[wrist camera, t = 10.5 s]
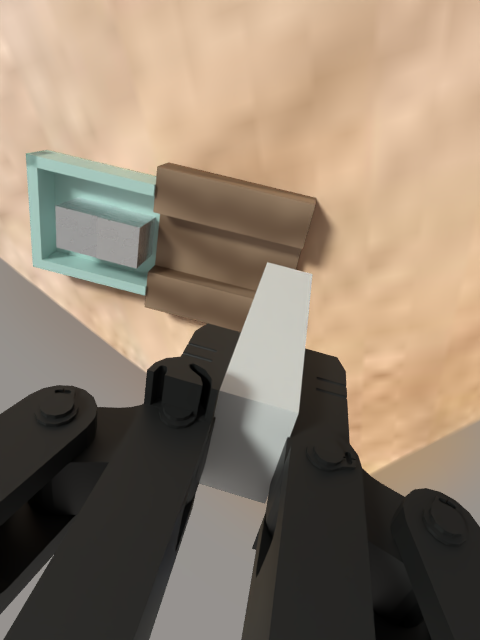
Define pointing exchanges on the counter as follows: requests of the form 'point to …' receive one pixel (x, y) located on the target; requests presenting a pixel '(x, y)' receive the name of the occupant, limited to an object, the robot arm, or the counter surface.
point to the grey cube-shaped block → (79, 225)
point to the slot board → (220, 242)
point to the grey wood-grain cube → (125, 237)
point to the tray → (93, 184)
